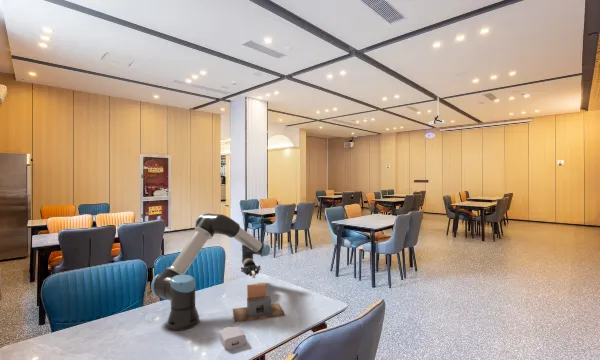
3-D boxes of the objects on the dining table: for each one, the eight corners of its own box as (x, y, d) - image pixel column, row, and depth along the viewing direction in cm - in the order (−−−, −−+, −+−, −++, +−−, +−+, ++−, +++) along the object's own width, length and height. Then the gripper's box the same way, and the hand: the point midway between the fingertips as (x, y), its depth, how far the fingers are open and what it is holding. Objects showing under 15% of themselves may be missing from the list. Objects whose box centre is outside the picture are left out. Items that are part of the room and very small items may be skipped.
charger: (236, 330, 148) (245, 345, 135) (216, 335, 144) (224, 350, 131) (236, 320, 148) (245, 334, 135) (216, 325, 144) (224, 339, 131)
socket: (248, 317, 158) (248, 302, 158) (247, 313, 164) (246, 298, 164) (271, 314, 161) (271, 299, 161) (269, 310, 167) (269, 295, 167)
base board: (234, 322, 156) (234, 319, 156) (232, 311, 169) (232, 308, 169) (284, 315, 163) (284, 313, 163) (278, 305, 177) (278, 303, 177)
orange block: (249, 313, 163) (248, 290, 163) (247, 306, 172) (247, 285, 172) (267, 310, 166) (267, 288, 166) (265, 304, 174) (264, 283, 174)
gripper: (259, 269, 209) (264, 281, 186) (239, 271, 205) (243, 283, 183) (258, 258, 209) (264, 268, 186) (239, 260, 205) (242, 270, 183)
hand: (254, 276), depth 185 cm, fingers closed
